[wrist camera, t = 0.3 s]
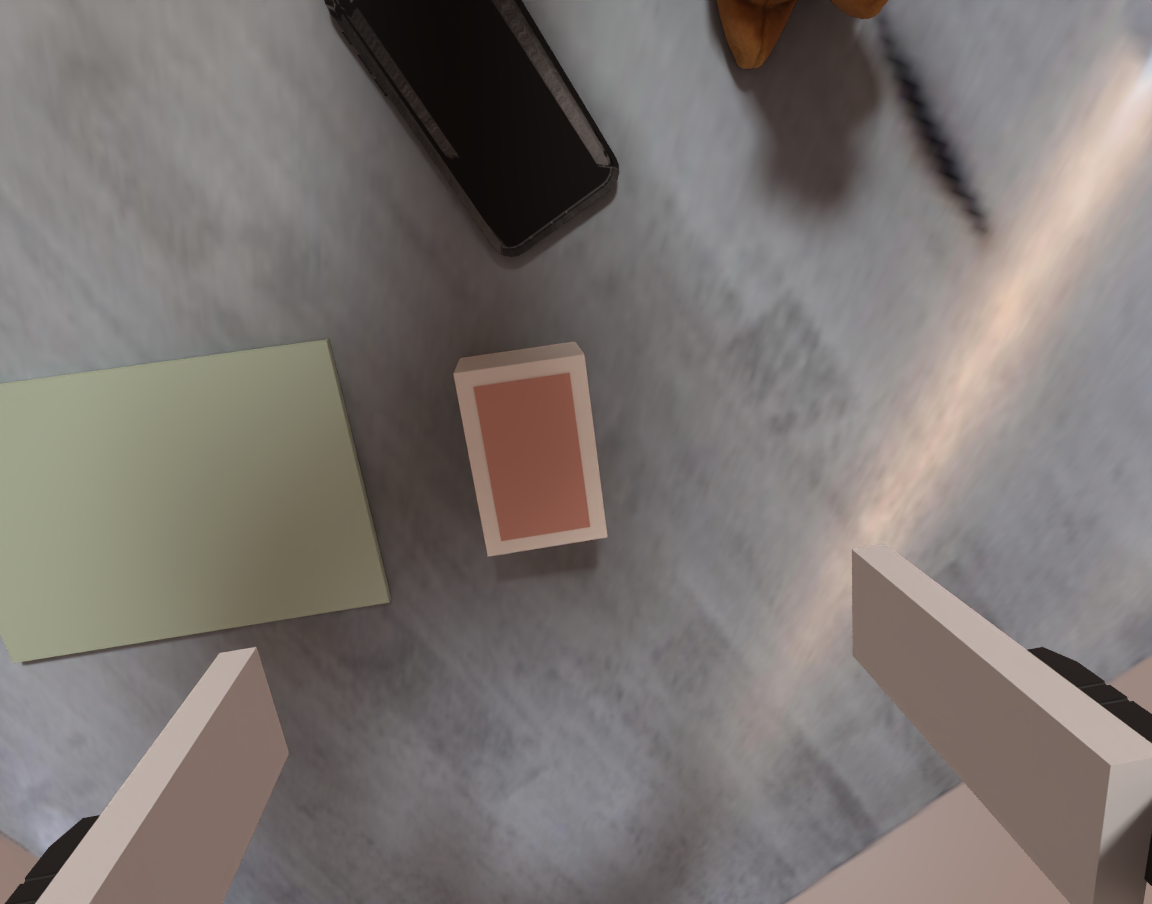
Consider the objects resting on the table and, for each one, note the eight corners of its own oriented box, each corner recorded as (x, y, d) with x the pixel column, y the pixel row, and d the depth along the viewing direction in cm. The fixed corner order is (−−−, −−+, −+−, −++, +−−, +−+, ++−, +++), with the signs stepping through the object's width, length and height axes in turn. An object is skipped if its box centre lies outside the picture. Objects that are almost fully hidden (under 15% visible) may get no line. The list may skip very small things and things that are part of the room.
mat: (-98, 396, 34) (-107, 399, 34) (329, 338, 36) (326, 340, 35) (20, 657, 39) (13, 663, 39) (390, 597, 41) (389, 602, 40)
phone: (448, -122, 30) (628, 177, 34) (450, -109, 31) (624, 179, 35) (310, -12, 30) (504, 267, 35) (317, -3, 31) (504, 266, 36)
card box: (460, 357, 37) (453, 373, 32) (574, 340, 37) (584, 354, 33) (490, 520, 40) (487, 557, 35) (595, 503, 40) (607, 537, 36)
